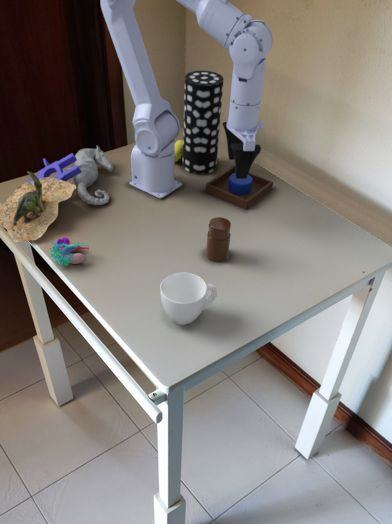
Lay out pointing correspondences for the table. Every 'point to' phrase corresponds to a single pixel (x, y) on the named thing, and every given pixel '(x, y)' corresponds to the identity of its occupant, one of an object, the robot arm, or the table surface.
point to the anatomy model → (67, 248)
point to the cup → (185, 296)
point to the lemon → (178, 150)
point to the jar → (218, 239)
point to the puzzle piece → (59, 169)
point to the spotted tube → (201, 121)
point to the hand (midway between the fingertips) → (237, 168)
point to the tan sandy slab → (34, 207)
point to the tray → (245, 201)
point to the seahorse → (90, 174)
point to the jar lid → (240, 185)
